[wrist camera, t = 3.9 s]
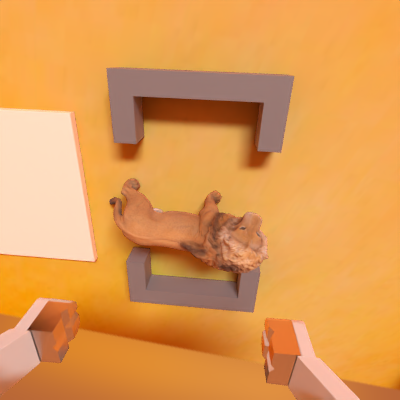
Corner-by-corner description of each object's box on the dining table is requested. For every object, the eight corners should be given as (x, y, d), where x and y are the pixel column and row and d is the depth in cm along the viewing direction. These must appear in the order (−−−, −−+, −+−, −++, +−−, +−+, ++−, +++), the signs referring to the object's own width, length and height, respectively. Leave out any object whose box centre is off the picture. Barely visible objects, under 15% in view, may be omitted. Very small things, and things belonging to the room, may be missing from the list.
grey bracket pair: (287, 74, 18) (294, 76, 16) (251, 295, 26) (253, 312, 24) (117, 67, 18) (106, 68, 17) (136, 285, 27) (130, 301, 25)
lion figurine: (261, 179, 21) (277, 232, 15) (256, 228, 23) (268, 293, 17) (108, 176, 22) (58, 224, 16) (115, 222, 24) (75, 283, 17)
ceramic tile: (74, 111, 20) (69, 113, 19) (97, 257, 26) (94, 261, 25) (-58, 104, 20) (-66, 105, 20) (-6, 248, 26) (-11, 252, 26)
